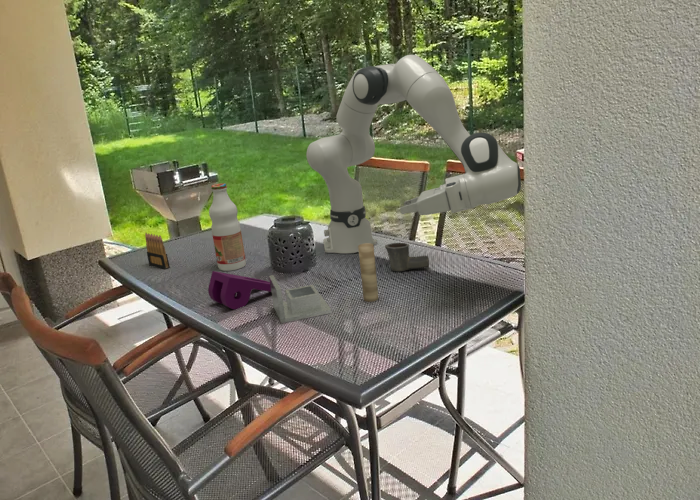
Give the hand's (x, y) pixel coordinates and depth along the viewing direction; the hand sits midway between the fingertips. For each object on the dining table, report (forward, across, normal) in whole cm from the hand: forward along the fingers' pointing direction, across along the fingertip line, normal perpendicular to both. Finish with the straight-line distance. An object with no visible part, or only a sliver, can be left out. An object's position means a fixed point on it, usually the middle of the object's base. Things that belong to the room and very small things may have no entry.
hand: (402, 207), depth 153 cm
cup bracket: (+31, +5, +19) cm, 37 cm away
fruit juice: (+65, -33, +9) cm, 73 cm away
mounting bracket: (+50, -4, +15) cm, 53 cm away
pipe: (+6, -24, +22) cm, 33 cm away
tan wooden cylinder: (+15, -1, +22) cm, 26 cm away
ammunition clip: (+93, -37, +4) cm, 100 cm away
